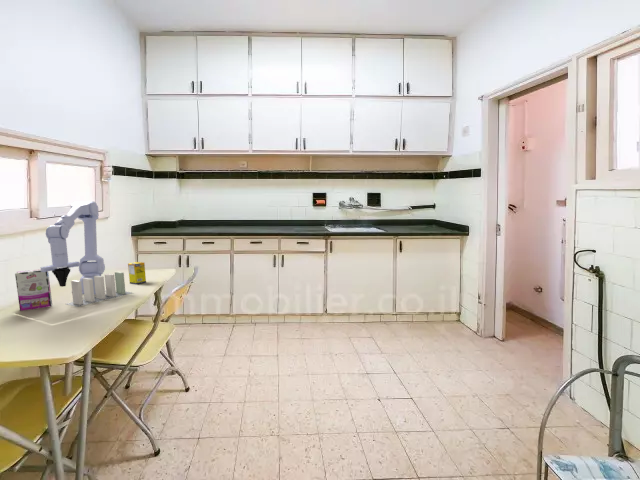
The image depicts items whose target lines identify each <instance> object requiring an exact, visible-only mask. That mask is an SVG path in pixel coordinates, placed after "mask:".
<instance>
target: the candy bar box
mask: <svg viewBox="0 0 640 480" xmlns="http://www.w3.org/2000/svg"><path fill="white" fill-rule="evenodd" d="M14 276H15V283H16V289H17V290H16V292H17V299H18V306H19V311H20V312H21V311H28V310H36V309H42V308H45V309H46V308H50V307H52V306H53V299H52V292H51V291H52V290H51V284H50V283H51V282H50V274H49V271H47V272H41V268H39V269H31V270H22V271H16V272H15V273H14Z"/></svg>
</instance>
